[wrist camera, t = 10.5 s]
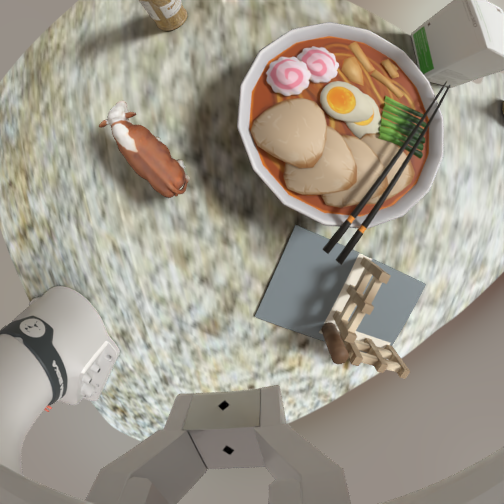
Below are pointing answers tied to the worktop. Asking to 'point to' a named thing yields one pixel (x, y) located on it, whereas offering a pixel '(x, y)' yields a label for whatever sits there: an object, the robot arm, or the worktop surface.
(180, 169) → the bull figurine
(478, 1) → the skincare box
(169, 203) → the worktop surface
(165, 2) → the spice jar
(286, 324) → the card
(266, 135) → the ramen bowl
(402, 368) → the fixed fence panel
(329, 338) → the corner post
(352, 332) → the gate panel
